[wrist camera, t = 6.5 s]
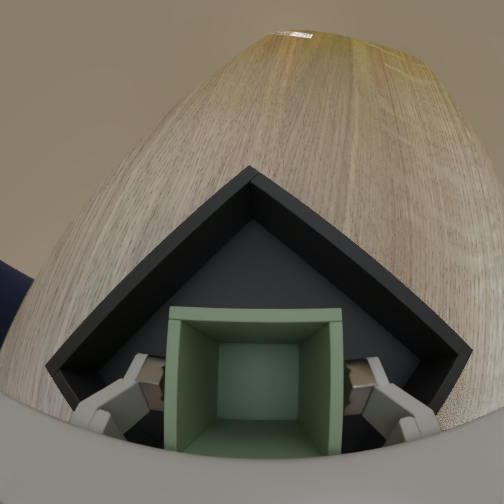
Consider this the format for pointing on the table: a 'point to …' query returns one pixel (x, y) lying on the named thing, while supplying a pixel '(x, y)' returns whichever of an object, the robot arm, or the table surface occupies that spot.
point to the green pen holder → (254, 382)
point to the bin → (263, 301)
